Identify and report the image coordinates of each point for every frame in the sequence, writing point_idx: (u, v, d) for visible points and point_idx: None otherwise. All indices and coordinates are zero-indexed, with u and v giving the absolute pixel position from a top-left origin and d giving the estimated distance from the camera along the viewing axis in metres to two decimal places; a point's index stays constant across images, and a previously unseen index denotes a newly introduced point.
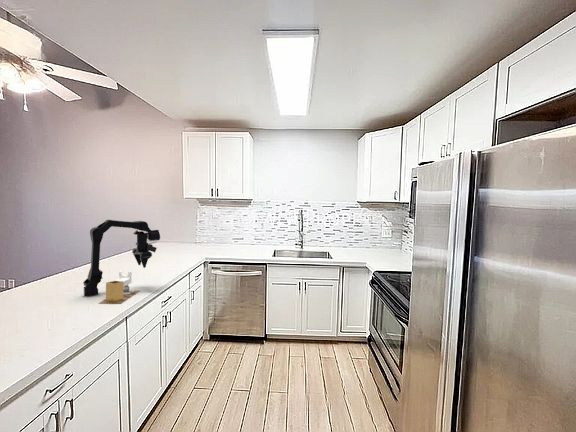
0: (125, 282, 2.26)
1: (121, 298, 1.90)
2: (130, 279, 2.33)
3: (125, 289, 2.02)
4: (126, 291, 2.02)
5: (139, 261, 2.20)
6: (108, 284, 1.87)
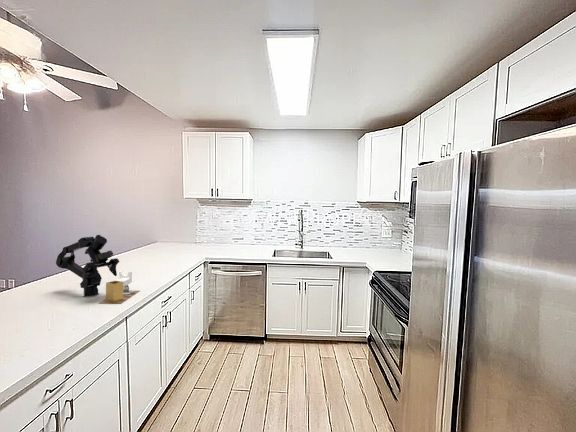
0: (126, 282, 2.26)
1: (121, 298, 1.90)
2: (130, 279, 2.33)
3: (125, 289, 2.02)
4: (126, 291, 2.02)
5: (114, 272, 1.96)
6: (108, 284, 1.87)
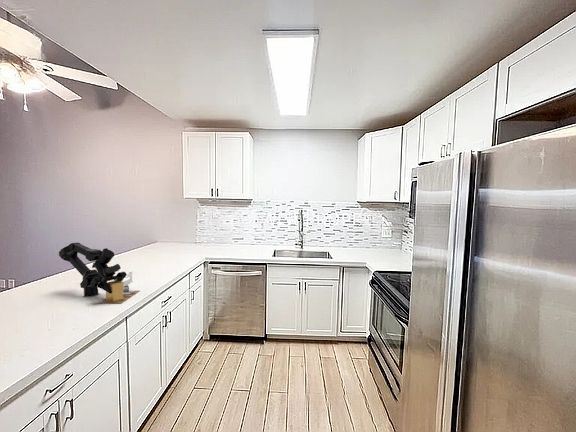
0: (126, 281, 2.27)
1: (121, 298, 1.90)
2: (131, 279, 2.34)
3: (125, 289, 2.02)
4: (126, 291, 2.02)
5: None
6: (108, 284, 1.87)
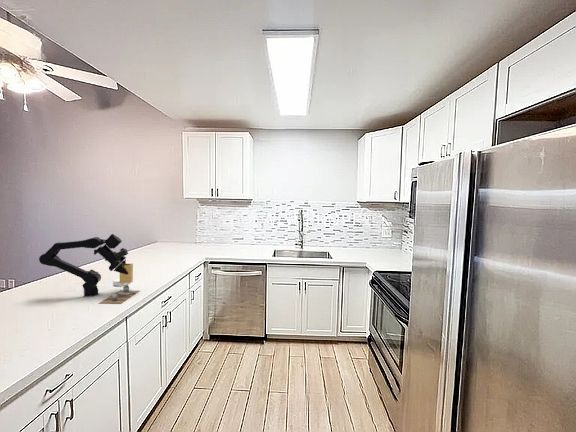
0: None
1: (132, 278, 2.06)
2: None
3: (125, 289, 2.02)
4: (126, 291, 2.02)
5: None
6: (123, 266, 1.99)
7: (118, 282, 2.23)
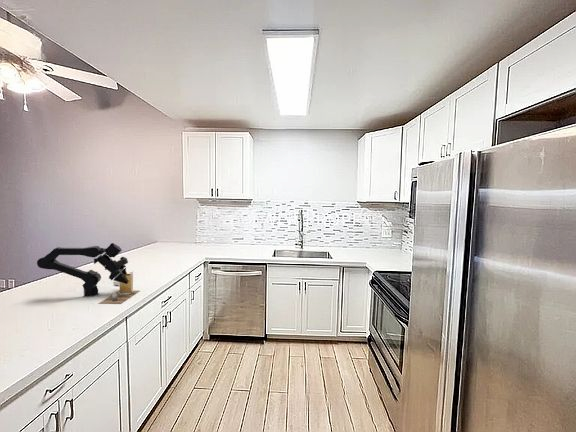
0: None
1: (132, 288, 2.06)
2: None
3: None
4: None
5: None
6: None
7: (118, 282, 2.24)
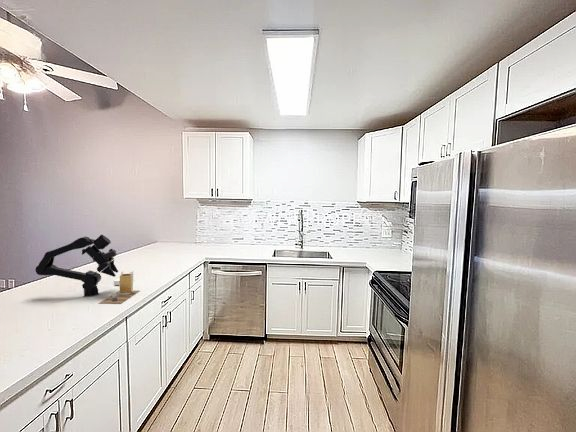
0: None
1: (132, 288, 2.06)
2: None
3: None
4: None
5: (114, 269, 2.06)
6: (123, 277, 2.00)
7: (119, 282, 2.24)
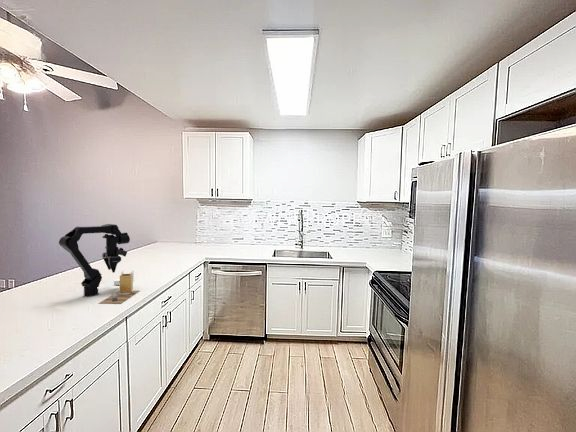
0: None
1: (132, 288, 2.06)
2: None
3: None
4: None
5: (109, 265, 2.12)
6: (123, 277, 2.00)
7: (119, 281, 2.25)
